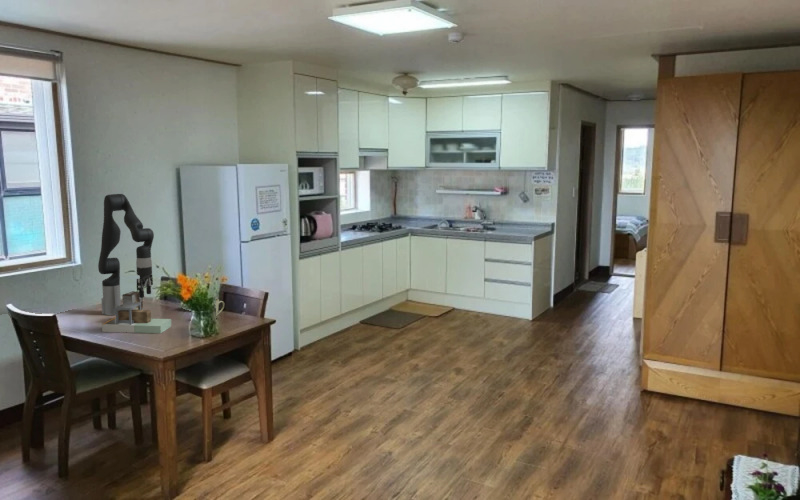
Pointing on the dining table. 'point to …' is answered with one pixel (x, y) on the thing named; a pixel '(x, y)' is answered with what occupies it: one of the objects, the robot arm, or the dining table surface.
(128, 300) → the coffee box
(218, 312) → the mug
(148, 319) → the walnut bar
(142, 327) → the tunnel deck
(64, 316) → the dining table surface
